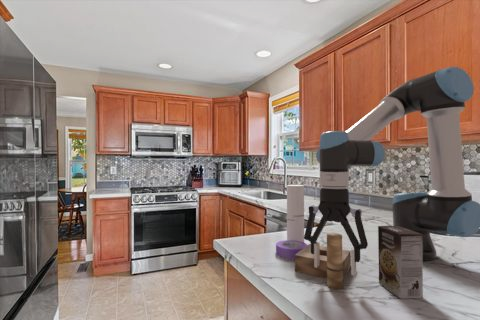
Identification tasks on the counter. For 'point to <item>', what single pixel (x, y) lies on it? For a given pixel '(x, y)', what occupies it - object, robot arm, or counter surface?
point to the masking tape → (289, 248)
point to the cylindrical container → (295, 212)
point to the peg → (334, 261)
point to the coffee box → (401, 261)
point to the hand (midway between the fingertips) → (334, 269)
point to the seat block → (306, 262)
